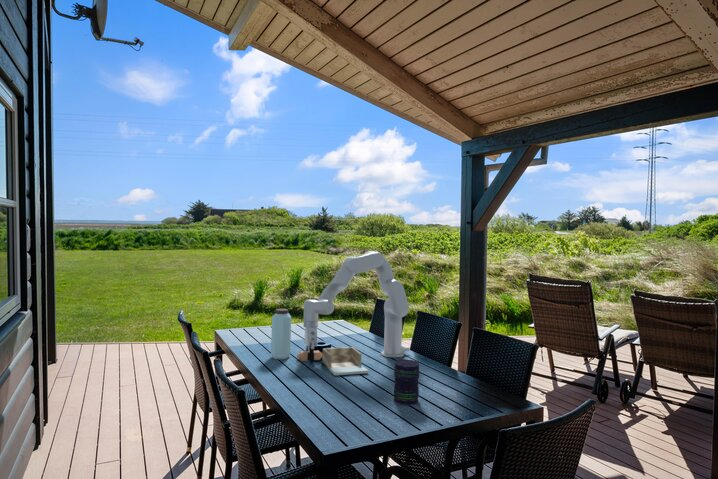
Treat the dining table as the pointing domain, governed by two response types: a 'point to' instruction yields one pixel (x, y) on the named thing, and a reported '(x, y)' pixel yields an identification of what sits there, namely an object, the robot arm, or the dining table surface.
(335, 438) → the dining table surface
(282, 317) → the water bottle
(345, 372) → the tailgate
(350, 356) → the crate
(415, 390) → the storage jar
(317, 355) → the dome-capped square column
